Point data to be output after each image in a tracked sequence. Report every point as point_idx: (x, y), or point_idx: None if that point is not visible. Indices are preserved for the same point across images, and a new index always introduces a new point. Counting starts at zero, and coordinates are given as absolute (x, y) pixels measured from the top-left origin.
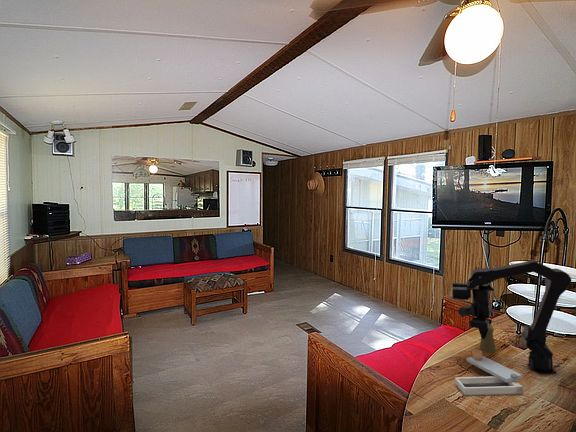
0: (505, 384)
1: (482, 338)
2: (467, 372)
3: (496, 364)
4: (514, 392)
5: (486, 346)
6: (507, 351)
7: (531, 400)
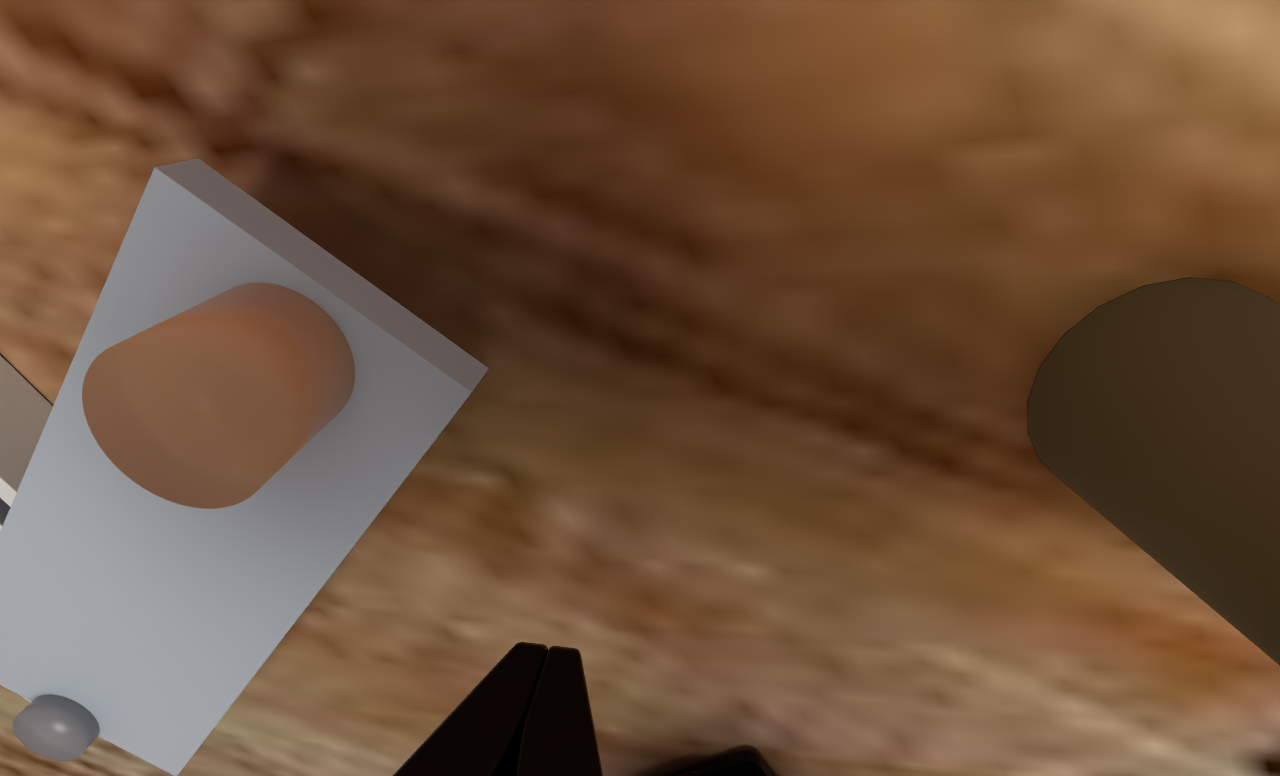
0: None
1: (514, 656)
2: (148, 163)
3: (256, 588)
4: None
5: (1099, 431)
6: (1144, 619)
7: None
